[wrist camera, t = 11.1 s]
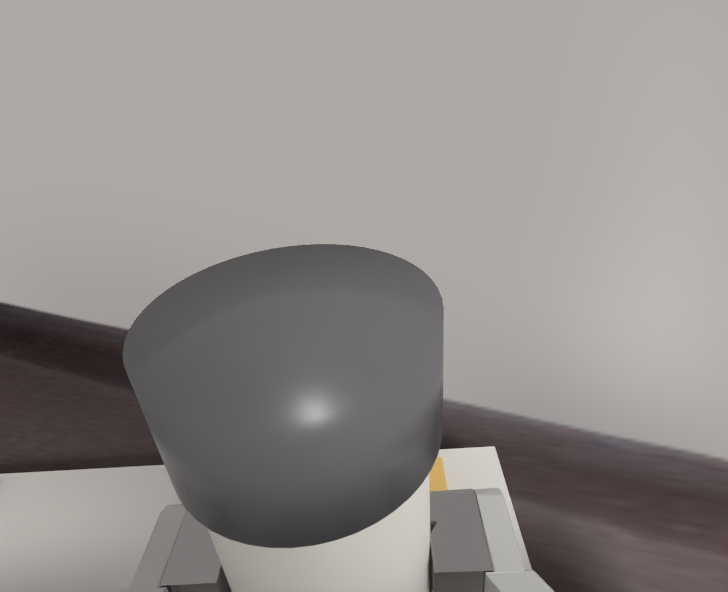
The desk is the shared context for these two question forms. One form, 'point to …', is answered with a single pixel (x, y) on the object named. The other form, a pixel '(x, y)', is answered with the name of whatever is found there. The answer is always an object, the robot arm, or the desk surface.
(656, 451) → the desk surface
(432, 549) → the robot arm
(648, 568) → the desk surface
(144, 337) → the grey capped white cylinder
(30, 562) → the socket board
